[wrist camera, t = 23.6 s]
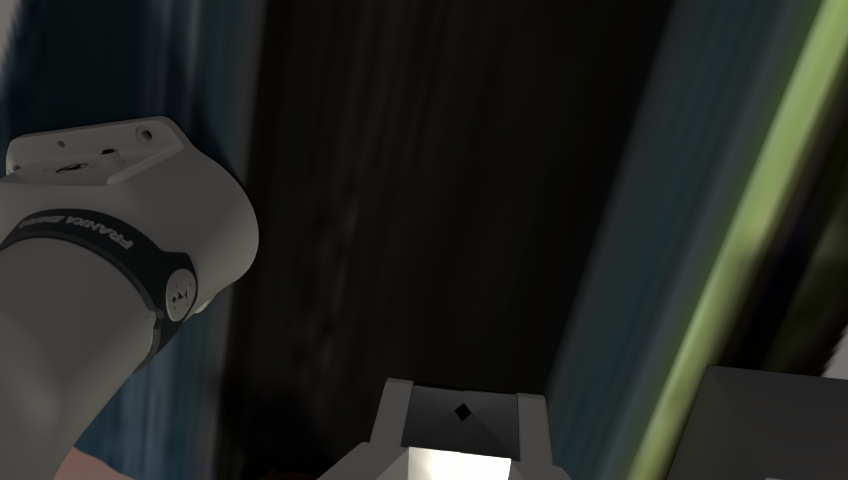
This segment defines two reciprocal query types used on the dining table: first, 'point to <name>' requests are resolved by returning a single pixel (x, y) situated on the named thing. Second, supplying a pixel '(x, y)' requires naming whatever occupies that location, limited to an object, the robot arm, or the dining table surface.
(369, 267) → the dining table surface
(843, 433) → the tool tote
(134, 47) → the dining table surface
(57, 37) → the dining table surface
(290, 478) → the scroll
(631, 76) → the dining table surface
